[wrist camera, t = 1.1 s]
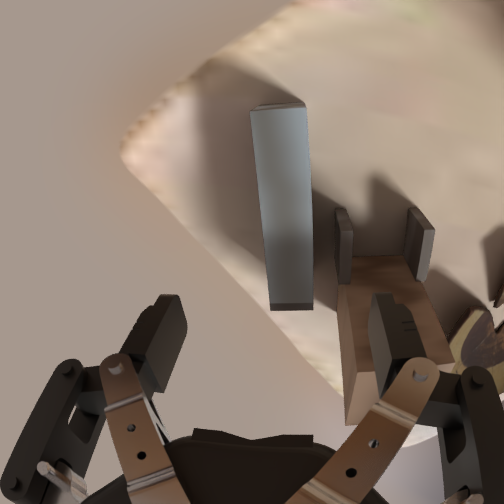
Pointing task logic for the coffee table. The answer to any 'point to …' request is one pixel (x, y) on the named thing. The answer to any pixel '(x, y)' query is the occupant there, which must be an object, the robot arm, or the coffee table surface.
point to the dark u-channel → (359, 301)
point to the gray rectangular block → (285, 202)
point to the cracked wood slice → (479, 342)
